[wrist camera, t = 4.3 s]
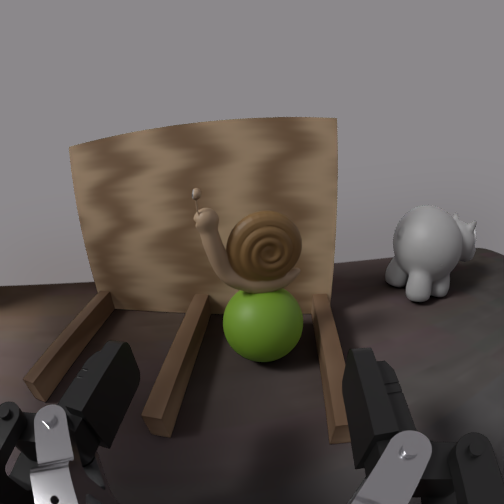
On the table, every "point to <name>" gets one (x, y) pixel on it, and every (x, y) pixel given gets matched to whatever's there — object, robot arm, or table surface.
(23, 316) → the table surface
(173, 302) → the lane rack
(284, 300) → the snail figurine
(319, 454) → the table surface
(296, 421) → the table surface
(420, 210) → the chubby cartoon animal
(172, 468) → the table surface
